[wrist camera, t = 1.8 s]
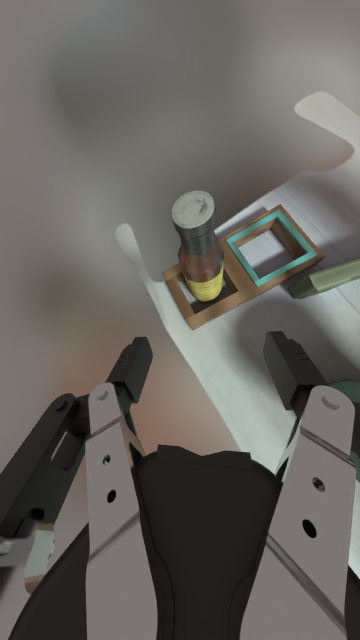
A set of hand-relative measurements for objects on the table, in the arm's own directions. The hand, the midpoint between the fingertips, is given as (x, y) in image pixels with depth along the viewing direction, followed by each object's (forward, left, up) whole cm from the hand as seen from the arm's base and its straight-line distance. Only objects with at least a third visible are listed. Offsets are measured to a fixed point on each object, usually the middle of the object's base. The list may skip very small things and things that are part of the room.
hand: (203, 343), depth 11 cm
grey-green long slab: (-30, +1, -21) cm, 37 cm away
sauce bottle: (-5, -11, -21) cm, 24 cm away
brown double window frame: (-11, -11, -21) cm, 26 cm away
